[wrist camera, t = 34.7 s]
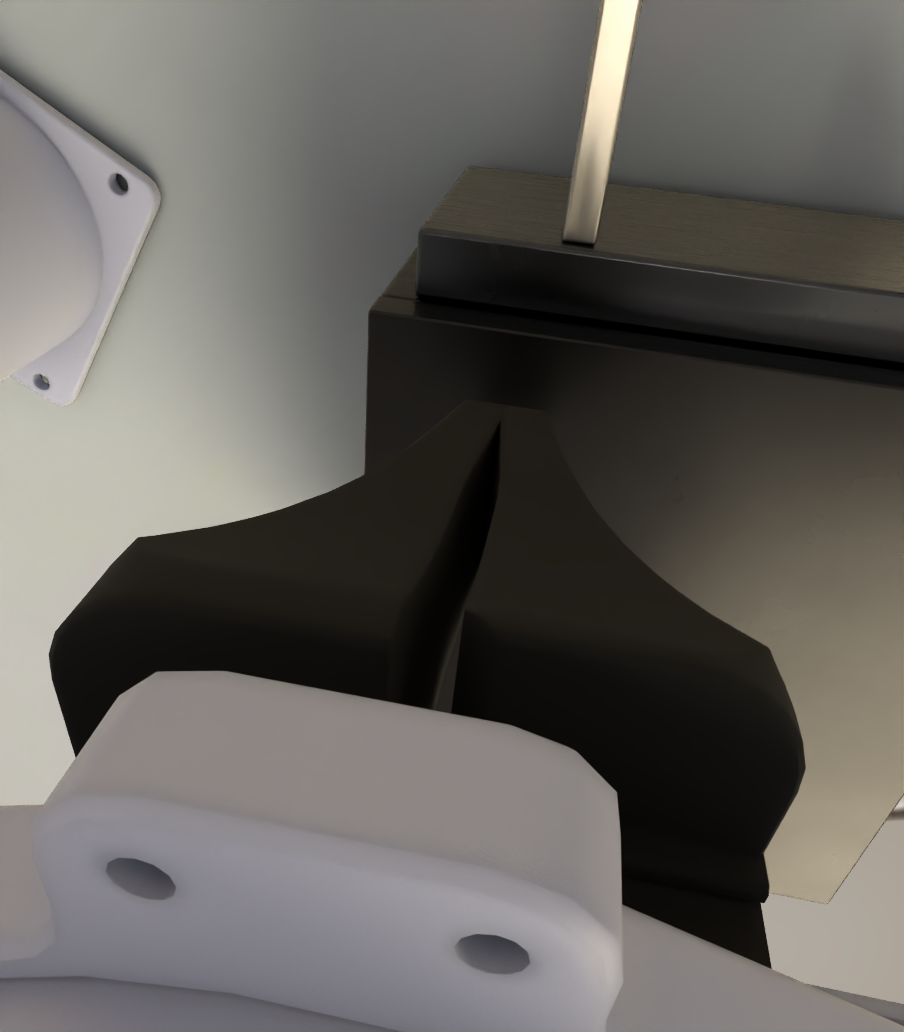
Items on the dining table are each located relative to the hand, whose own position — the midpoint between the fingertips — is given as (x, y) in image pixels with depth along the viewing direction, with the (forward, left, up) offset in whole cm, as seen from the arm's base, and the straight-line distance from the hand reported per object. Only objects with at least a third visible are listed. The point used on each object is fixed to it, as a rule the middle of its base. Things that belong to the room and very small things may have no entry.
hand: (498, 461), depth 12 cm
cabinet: (+6, -3, -9) cm, 12 cm away
